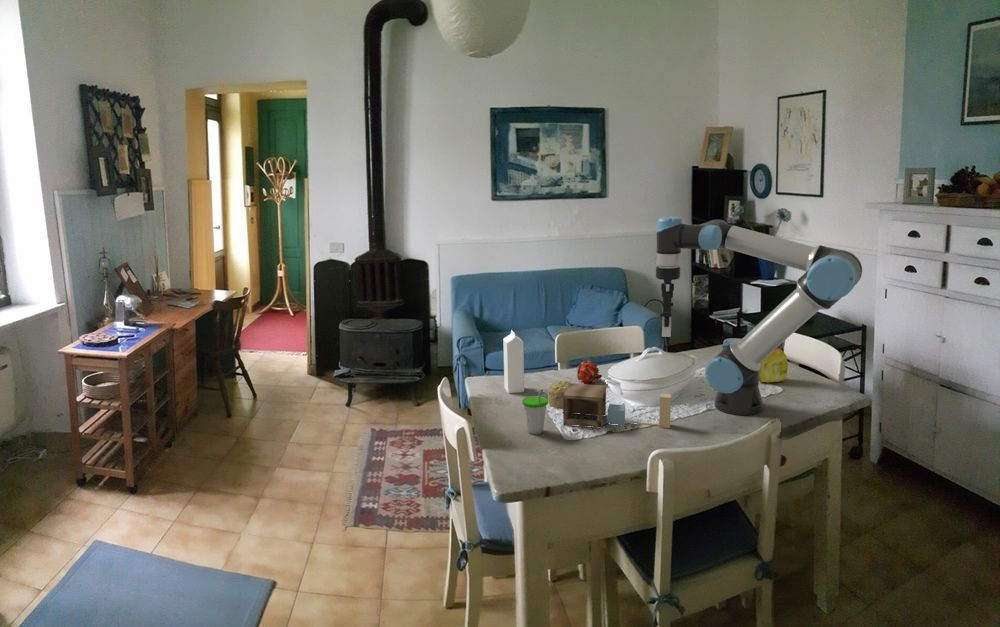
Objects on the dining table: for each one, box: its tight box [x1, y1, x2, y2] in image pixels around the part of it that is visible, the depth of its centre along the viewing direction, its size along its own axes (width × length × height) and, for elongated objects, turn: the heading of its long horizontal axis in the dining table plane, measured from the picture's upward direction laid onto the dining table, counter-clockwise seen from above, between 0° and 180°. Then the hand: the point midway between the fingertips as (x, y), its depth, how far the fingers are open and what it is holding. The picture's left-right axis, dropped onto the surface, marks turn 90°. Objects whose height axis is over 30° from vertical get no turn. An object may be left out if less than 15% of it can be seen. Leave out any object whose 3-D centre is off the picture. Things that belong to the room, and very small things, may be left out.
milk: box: [502, 329, 525, 394], centre depth 250 cm, size 6×6×22 cm
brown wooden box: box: [562, 382, 607, 428], centre depth 222 cm, size 12×11×10 cm
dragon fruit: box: [576, 360, 603, 385], centre depth 258 cm, size 8×8×12 cm
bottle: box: [759, 344, 789, 383], centre depth 252 cm, size 12×6×20 cm, turn 102°
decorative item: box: [547, 380, 571, 409], centre depth 237 cm, size 10×10×10 cm
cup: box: [521, 389, 549, 436], centre depth 213 cm, size 8×8×15 cm
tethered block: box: [606, 393, 672, 429], centre depth 218 cm, size 19×5×10 cm, turn 75°
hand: (666, 331), depth 225 cm, fingers open, 13 cm apart
